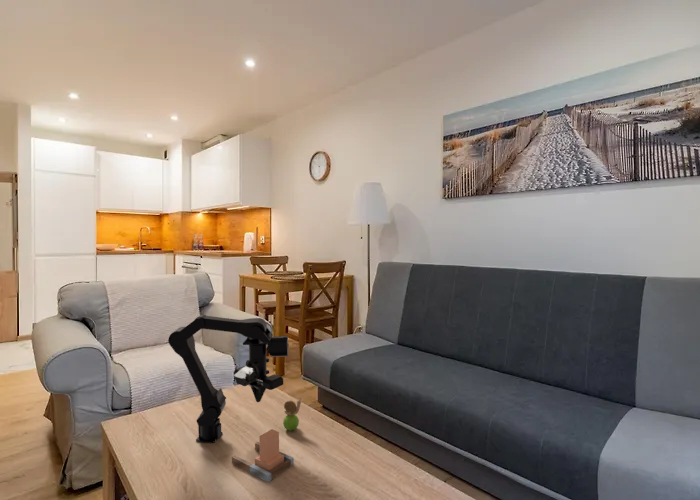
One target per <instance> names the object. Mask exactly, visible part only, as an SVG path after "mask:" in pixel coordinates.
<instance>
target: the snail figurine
mask: <svg viewBox="0 0 700 500" xmlns="http://www.w3.org/2000/svg"><path fill="white" fill-rule="evenodd" d="M301 400H302V396H299V398H298V400H296V403H297V404H296V403H295V401H293V400H287V401H285V403H284V405H283V407H284V410H283V412H284V413H285V414H286V415H285V417H284V418H283V421H282V424H283V426H284V429H286V430H287V431H294V430H296V429H297V428H298V426H299V424H300V420H299V418H298V416H297V414H298V413H299V411H300V407H301V403H302V401H301Z"/></svg>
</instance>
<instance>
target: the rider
mask: <svg viewBox="0 0 700 500" xmlns="http://www.w3.org/2000/svg"><path fill="white" fill-rule="evenodd" d="M258 438H259V439H258V440H259V441H258V442H259V444H260V451H259V455H257V456H256V457H254V465H256V466H258V467H260V468H262V469H264V470H266V471H268V472H271V471H273V470H274V469H276V468H277V467H279V466H280V465H282V464H283V463H284V455H282V454H280V453H279V451H280V432H279V431H277V430H274V429H269V430H268V431H266V432H264V433H263V434H261V435H259V437H258Z"/></svg>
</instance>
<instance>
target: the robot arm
mask: <svg viewBox="0 0 700 500" xmlns="http://www.w3.org/2000/svg"><path fill="white" fill-rule="evenodd" d="M201 330H211V331H220V332H226V333H237V334H239V335H241V336H243V337H245V338H246V339H244V341H243V342H242V345H243V346H248V360H246V361H245V365H243V366H241V367H238V368H236V369H235V370H234V371H233V378H234V379H235V382H236V384H237V385H240V386H242V387H247V386H249V387H250V389H251V391H252V394H253V396H254V399H255V402H256V403H260V402H261V401H262V399H263V397H264V394H265V392H266V390H269V391H272V390H275V389H277V388H279V387H281V386H283V385H284V377H282V376H281V375H278V374H274V373H273V374H272V375H268V374H270V370H269V369H267V368H268V367H267V366H268V365H267V364H268V363H269V362H270V358H268V357H267V354H268V355H269V356H271V357H272V358H274V357H276V358H278V357H282V358H283V357H289V349H290V346H289V345H290V344H289V339H288V335H282V336H281V335H279V336H274V334H273V333H272V331H271V330H270V329H269V328H268V325H267V322H266V321H265V319H263V318H260V317H256V318H253V317H251V318H245V319H236V318H229V317H228V318H227V317H226V318H225V317H222V316H221V317H219V316H213V315H212V316H211V315H206V314H200V315H198V316H197V317H196V318H194V320H193V321H192V322H190V323H189V324H187V325H186V326H180V327H178V328H177V329H175V330H174V331H172V332H171V334H169V337H168V340H167V342H168V345H169V346H170V347H171V349H172V350H173V351H174V352H175V354H177V355H178V356H179V357H181V359H182V360H183V363H184V365H185V366H186V368H187V371H188V373H189V375H190V376H191V379H192V380H193V383H194V385H195V387H196V388H197V391H198V393H199V396H200V403H201V409H202V411H201V413H200V414H199V416H198V417H197V419H196V423H197V426H198V427H197V428H198V437H196V439H195V442H198V443H199V442H200V443H210V444H215V442H216V441H217V440H218V439H219V438H220V437H221V436H222V435H223V431H222V423H221V419H220V416H221V414H222V413H223V411H224V409H225V407H226V404H227V403H226V401H227V397H226V396H225V395H224V392H223V389H222V388H219V389H216V388H215V387H214V385H213V383H212V381H211V379H210V377H209V375H208V373H207V371H206V369H205V366H204V365H203V362H202V361H201V358H200V357H199V354H198V352H197V350H196V342H195V337H194V335H195V334H196V333H198V332H199V331H201Z"/></svg>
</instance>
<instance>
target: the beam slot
mask: <svg viewBox="0 0 700 500" xmlns="http://www.w3.org/2000/svg"><path fill="white" fill-rule="evenodd" d="M254 450H255V451H258V452H260V444H259V441H257V442H255V443H254ZM279 453H280V454H282V455H284V463H283V464H282V465H280V466H279V467H277V468H276V469H274V470H273V471H271V472H268V471H266V470H264V469H262V468H260V467H258V466H256V465H255V463H252V462H250V461H248V460H246V459H244V458H242V457H240V456H238V455H236V454H234V455H233V456H231V464H232V465H234V466H237V467H238V468H240V469H242V470H244V471H246V472H248V473H249V474H251V475H254V476H255V477H257V478H259V479H261V480H263V481H265V482H267V483H269V482H271V481H272V480H273V479H276V478H277V477H278V476H279V475H280V474H282V473H283V472H284V471H286V470H287V469H289V468H291V467H292V466H293V465H294V463H295V461H294V459H295V458H294V457H292V456H290V455H288V454H286V453H284V452H282V451H280V450H279Z"/></svg>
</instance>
